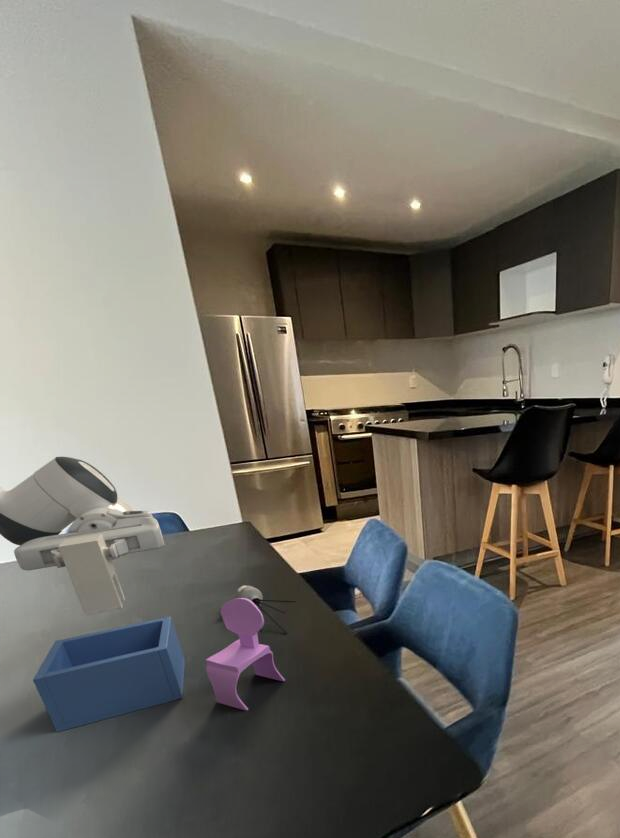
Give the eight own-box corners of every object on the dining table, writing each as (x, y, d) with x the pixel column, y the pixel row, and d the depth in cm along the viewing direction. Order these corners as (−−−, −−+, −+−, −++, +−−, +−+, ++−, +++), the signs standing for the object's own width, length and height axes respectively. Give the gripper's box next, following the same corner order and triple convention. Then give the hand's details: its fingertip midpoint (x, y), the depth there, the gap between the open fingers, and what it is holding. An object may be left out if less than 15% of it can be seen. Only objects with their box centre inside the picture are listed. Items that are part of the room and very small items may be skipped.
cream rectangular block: (85, 616, 77) (57, 546, 72) (90, 606, 80) (64, 539, 76) (122, 608, 79) (97, 540, 74) (125, 599, 82) (101, 533, 78)
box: (57, 732, 71) (32, 679, 67) (75, 688, 81) (55, 640, 78) (182, 698, 77) (166, 648, 73) (185, 661, 87) (170, 615, 84)
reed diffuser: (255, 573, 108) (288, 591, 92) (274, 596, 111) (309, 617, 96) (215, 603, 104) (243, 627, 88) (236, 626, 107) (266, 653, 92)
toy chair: (209, 702, 75) (182, 615, 69) (251, 672, 82) (230, 590, 77) (249, 714, 72) (225, 623, 66) (290, 681, 79) (271, 597, 73)
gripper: (22, 528, 82) (-8, 551, 70) (159, 509, 90) (153, 527, 78) (37, 563, 84) (11, 591, 73) (169, 541, 92) (165, 564, 80)
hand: (86, 558), depth 75 cm, fingers closed on cream rectangular block, 5 cm apart
